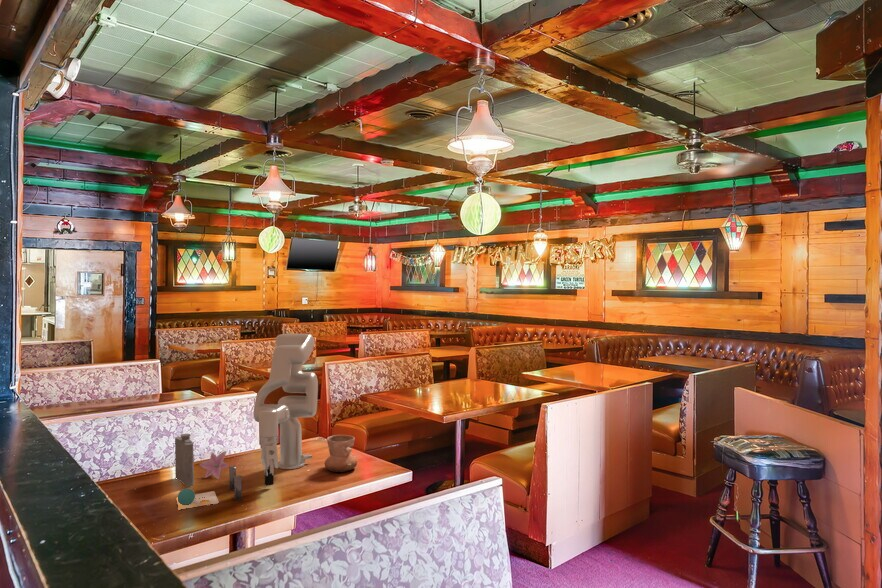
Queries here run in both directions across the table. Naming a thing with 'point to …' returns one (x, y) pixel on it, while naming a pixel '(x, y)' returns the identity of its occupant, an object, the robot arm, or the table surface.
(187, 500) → the ball
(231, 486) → the post
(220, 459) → the lily
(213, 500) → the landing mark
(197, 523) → the table surface
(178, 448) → the hip flask
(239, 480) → the post
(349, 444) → the ceramic jug
